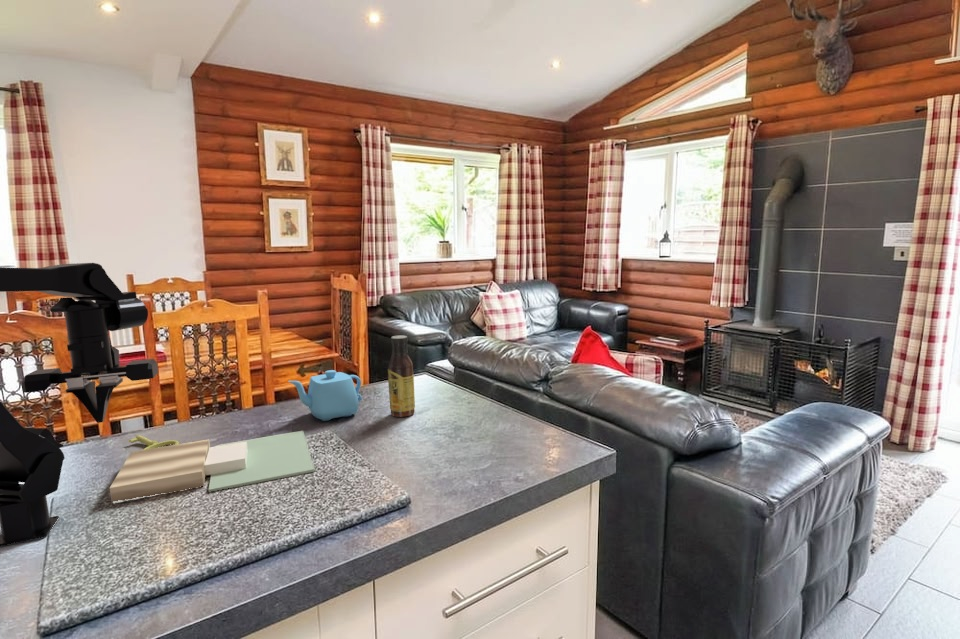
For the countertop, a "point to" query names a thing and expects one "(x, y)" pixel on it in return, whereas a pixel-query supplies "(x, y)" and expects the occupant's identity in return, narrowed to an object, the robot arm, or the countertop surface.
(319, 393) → the teapot
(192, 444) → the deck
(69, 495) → the countertop surface
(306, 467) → the mat
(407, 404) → the sauce bottle
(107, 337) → the robot arm
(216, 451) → the white flat block
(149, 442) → the key
